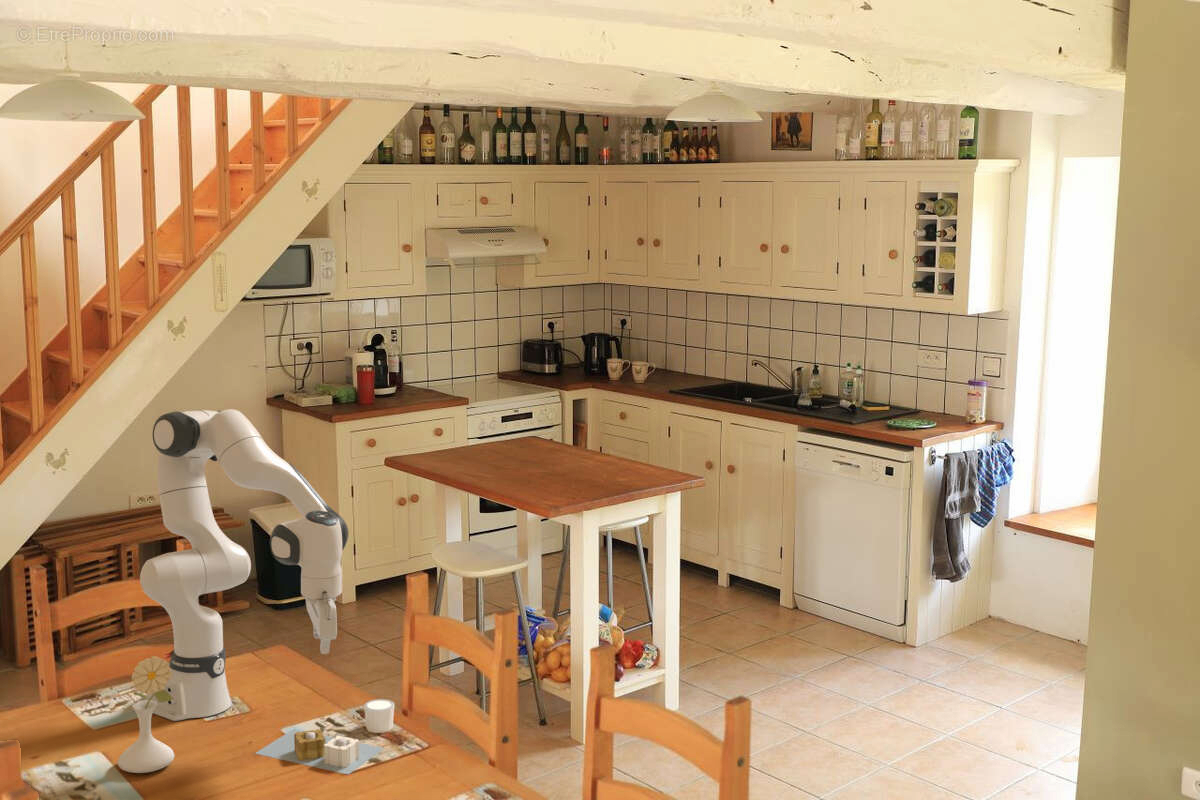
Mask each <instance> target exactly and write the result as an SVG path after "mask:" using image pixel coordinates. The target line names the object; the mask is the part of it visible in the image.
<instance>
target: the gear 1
mask: <svg viewBox="0 0 1200 800" xmlns="http://www.w3.org/2000/svg"><path fill="white" fill-rule="evenodd" d="M302 731H303V732H301V733H300V732H297V733H295V734H294V747H295V752H296V754H297V757H298V760H304V759H313V758H318V757H324V744H325V738H324V736H323V735H324V733H323V729H319V728H317V729H314V730H313V729H312V730H311V729H310V730H302ZM308 732H314V733H315V739H309V740H307V739H306V733H308Z"/></svg>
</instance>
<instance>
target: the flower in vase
mask: <svg viewBox="0 0 1200 800" xmlns="http://www.w3.org/2000/svg"><path fill="white" fill-rule="evenodd" d="M169 662H170V661H169ZM169 662H168V661H167V660H166V659H163V658H160V657H158V656H155V655H152V657H149V658H148V657H146V658H145V659H144V660H141V661H139V662H138V664H137V666H135V667H134V671H133V672H132V674H131V680H133V681H132V684H133V685H134V687H133V688H134V689H135V690H134V689H132V688H131V691H132V692H133V694H134V695H137V696H138V697H140V698H141V697H143V698H146V699H148V698H147V697H146V696H145V695H146V694H147V695H151V694H153V695H152V696H151V698H150V699H149V700H146V701H140V702H137V701H136V702H135V703H133V704H132V705H131V709H132V710H133V711H134V712H135V713H136V715H137V719H138V724H139V735H138V738H137V740H136V741H135V742H133V743H132V744H131V745H130V746H128V747H127V748H126V749H124V751H122V753H121V754H120V755H119V757H118V759H117V766H118V767H119V768H120V769H121V770H122V771H124V772H128V773H135V774H144V773H145V774H146V773H151V772H155V771H158V770H161V769H164V768H166V767H167V766H169V765H170V764H171V763H172V762H173V761H174V759H175V753H174V750H173V749H172V748H171V747H170V746H168V745H167V744H165V743H164V742H162V741H161V740H158V739H156V738H155V737H154V736H153V735H152V715H153V714H154V713H153V710H154V708H155V707H156V705H157V703H156V702H155V701H150V700H151V699H152V698H153V696H154V694H155V697H156V698H157V700H158V701H159V702H166V701H170V700H173V698H172V697H171V696H170V695H169V693H168V692H167V691H166V690H163V689H164V688H165V687H166V686H167V683H168V682H169V681H170V678H171V675H172V672H170V670H171V668H170V667H168V666H169Z"/></svg>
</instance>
